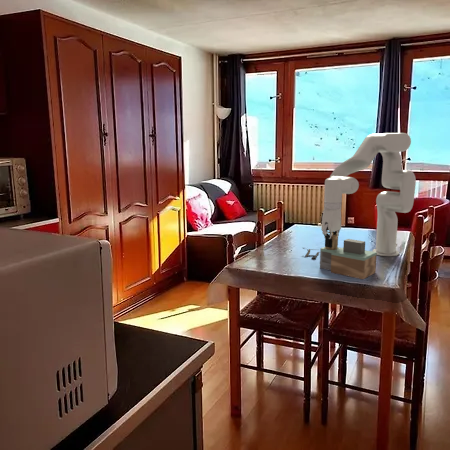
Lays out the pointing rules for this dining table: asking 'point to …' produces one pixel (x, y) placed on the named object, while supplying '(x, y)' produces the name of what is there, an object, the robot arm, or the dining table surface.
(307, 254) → the hacksaw
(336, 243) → the tan wooden block
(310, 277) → the dining table surface
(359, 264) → the toolbox
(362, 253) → the lid
